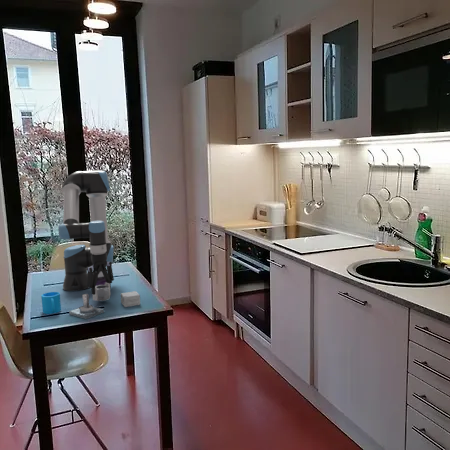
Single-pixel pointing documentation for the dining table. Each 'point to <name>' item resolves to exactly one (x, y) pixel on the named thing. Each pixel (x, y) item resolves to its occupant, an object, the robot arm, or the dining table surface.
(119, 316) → the dining table surface
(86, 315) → the block
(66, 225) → the robot arm
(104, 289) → the tube
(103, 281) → the pill bottle
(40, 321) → the dining table surface
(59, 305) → the mug
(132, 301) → the small box
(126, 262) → the dining table surface
